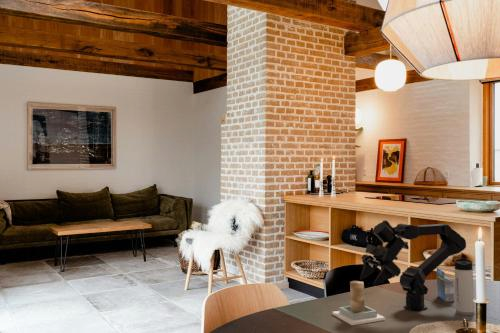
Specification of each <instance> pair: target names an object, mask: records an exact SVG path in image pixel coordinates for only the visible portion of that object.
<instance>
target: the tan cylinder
mask: <svg viewBox="0 0 500 333" xmlns="http://www.w3.org/2000/svg"><path fill="white" fill-rule="evenodd" d="M349 286H350V288H349V290H350V291H349V292H350V306H351V312H352V313H361V312H365V306H366V305H365V284H364V281H363V280H352V281H349Z"/></svg>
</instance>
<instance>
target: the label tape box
mask: <svg viewBox="0 0 500 333" xmlns="http://www.w3.org/2000/svg"><path fill="white" fill-rule="evenodd" d="M436 284H437V285H436V286H437V287H436V288H437V297H439V298H440V299H441V300H443V301H444V302H447V303H448V302H452V303H453V302H455V292H454V291H455V290H454V281H453V280H451V279H450V278H448V277H446V276H445V271H443V270H442V269H440V268H438V267H437V268H436Z"/></svg>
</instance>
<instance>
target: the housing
mask: <svg viewBox="0 0 500 333" xmlns="http://www.w3.org/2000/svg"><path fill="white" fill-rule="evenodd" d="M338 308H339V310H337V311H332V314H331V315H333V316H334V317H336V318H338V319H340V320H341V321H344V322H345V323H346V324H349V325H350V326H357V325H363V324H368V323H374V322H382V321H386V317H385V316H383V315H381V314H379V313H378V311H377V310H375V309H374V308H372V307H369V306H367V305H365V312H361V313H352V312H351V305H346V306H339V307H338Z"/></svg>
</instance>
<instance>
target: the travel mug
mask: <svg viewBox="0 0 500 333" xmlns="http://www.w3.org/2000/svg"><path fill="white" fill-rule="evenodd" d="M473 270H474V269H473V261H472V260H470V259H466V258H465V257H464V258H463V257H462V258H461V257H460V258H459V259H455V260H454V285H455V286H454V287H455V290H454V291H455V292H454V295H455V312H456V314H458V315H461V316H473V315H474V314H475V302H473V299H474V298H475V294H474V272H473ZM474 300H475V299H474Z"/></svg>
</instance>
